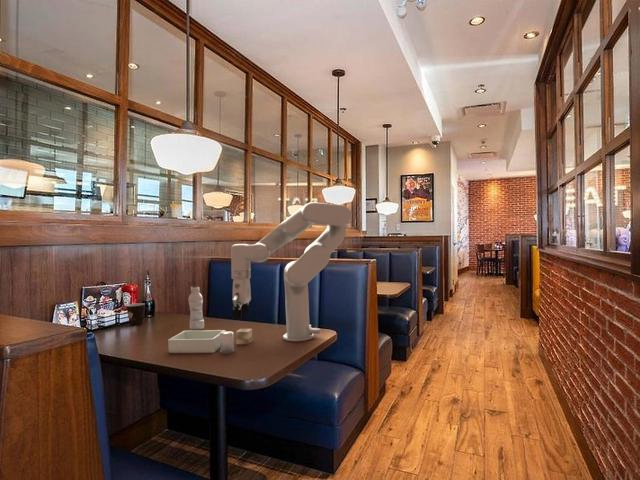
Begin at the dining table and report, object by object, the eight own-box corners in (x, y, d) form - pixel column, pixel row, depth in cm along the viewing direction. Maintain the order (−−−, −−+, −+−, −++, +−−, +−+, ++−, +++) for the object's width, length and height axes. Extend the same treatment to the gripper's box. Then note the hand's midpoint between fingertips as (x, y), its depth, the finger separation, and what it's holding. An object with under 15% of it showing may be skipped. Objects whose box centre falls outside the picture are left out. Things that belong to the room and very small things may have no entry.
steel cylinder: (235, 349, 148) (235, 331, 148) (231, 353, 144) (230, 334, 143) (223, 349, 149) (222, 331, 149) (218, 353, 144) (217, 334, 144)
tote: (226, 342, 159) (225, 330, 159) (213, 352, 145) (213, 339, 145) (184, 342, 161) (184, 330, 161) (168, 353, 147) (168, 339, 147)
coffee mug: (125, 324, 200) (124, 305, 200) (142, 321, 206) (141, 302, 206) (132, 328, 191) (131, 307, 191) (150, 324, 197) (149, 304, 197)
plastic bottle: (200, 332, 178) (198, 288, 178) (186, 331, 179) (184, 288, 179) (207, 328, 184) (205, 286, 184) (194, 328, 186) (192, 286, 185)
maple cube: (252, 340, 160) (251, 328, 160) (248, 344, 155) (248, 331, 155) (240, 340, 161) (240, 328, 161) (236, 344, 156) (236, 332, 156)
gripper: (243, 277, 148) (244, 322, 149) (255, 272, 166) (256, 313, 166) (224, 277, 149) (224, 321, 149) (238, 272, 166) (238, 312, 167)
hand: (241, 317), depth 158 cm, fingers open, 9 cm apart
